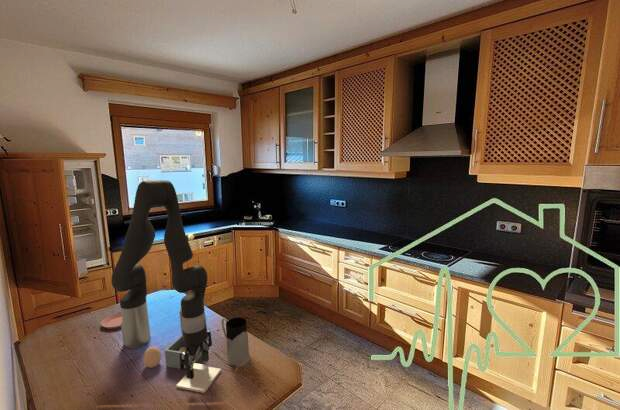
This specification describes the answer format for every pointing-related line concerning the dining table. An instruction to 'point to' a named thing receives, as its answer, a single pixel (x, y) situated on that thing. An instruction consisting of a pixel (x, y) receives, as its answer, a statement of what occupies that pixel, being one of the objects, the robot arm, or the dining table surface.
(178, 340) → the tin box
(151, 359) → the egg
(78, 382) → the dining table surface
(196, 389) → the lid
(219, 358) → the dining table surface
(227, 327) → the glass holder
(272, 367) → the dining table surface
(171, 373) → the dining table surface
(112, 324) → the plate
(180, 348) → the walnut block
